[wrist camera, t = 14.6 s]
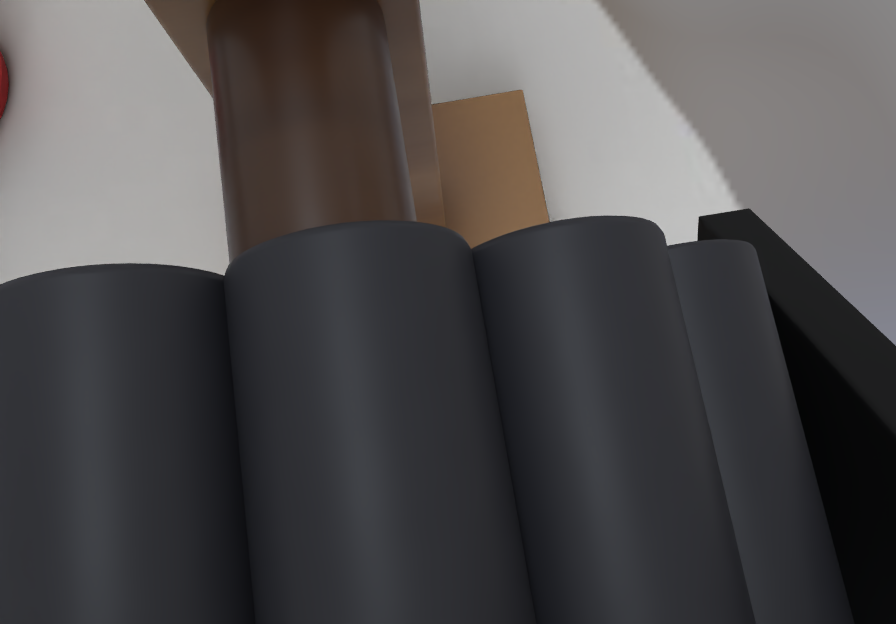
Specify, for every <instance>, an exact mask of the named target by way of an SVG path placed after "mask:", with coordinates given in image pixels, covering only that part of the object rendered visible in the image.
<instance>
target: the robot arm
mask: <svg viewBox="0 0 896 624" xmlns="http://www.w3.org/2000/svg"><path fill="white" fill-rule="evenodd" d="M719 239H727V240H740V241H745V242H748V243H750V244H752V245H753V247H754V248H755V249H756V252H757V256H758V260H759V263H760V267H761V271H762V275H763V279H764V282H765V286H766V290H767V294H768V298H769V301H770V305H771V309H772V313H773V316H774V320H775V324H776V328H777V332H778V335H779V339H780V343H781V347H782V351H783V354H784V358H785V362H786V366H787V370H788V373H789V377H790V381H791V385H792V388H793V392H794V396H795V400H796V404H797V407H798V411H799V415H800V419H801V423H802V426H803V430H804V434H805V438H806V442H807V445H808V449H809V453H810V457H811V460H812V464H813V468H814V472H815V476H816V479H817V483H818V487H819V491H820V495H821V498H822V502H823V506H824V510H825V513H826V517H827V521H828V525H829V529H830V532H831V536H832V540H833V544H834V548H835V551H836V555H837V559H838V563H839V567H840V570H841V574H842V578H843V582H844V585H845V589H846V593H847V597H848V601H849V604H850V608H851V612H852V616H853V620H854V623H855V624H896V346H895V345H894V344H893V343H892V342H891V341H890V340H889V339H888V338H887V337H886V336H885V335H884V334H883V333H881V332H880V331H879V330H878V329H877V328H876V327H875V326H874V325H873V324H872V323H871V322H870V321H869V320H867V319H866V318H865V317H864V316H863V315H862V314H861V313H860V312H859V311H858V310H857V309H856V308H855V307H854V306H853V305H852V304H850V303H849V302H848V301H847V300H846V299H845V298H844V297H843V296H842V295H841V294H840V293H839V292H838V291H837V290H836V289H835V288H833V287H832V286H831V285H830V284H829V283H828V282H827V281H826V280H825V279H824V278H823V277H822V276H821V275H820V274H818V273H817V272H816V271H815V270H814V269H813V268H812V267H811V266H810V265H809V264H808V263H807V262H806V261H805V260H804V259H803V258H801V257H800V256H799V255H798V254H797V253H796V252H795V251H794V250H793V249H792V248H791V247H790V246H788V244H786V243H785V242H784V241H783V240H782V239H781V238H780V237H779V236H778V235H777V234H776V233H775V232H774V231H772V229H771V228H770V227H768V226H767V225H766V224H765V223H764V222H763V221H762V220H761V219H760V218H759V217H758V216H757V215H756V214H755V213H753V212H752V211H751V210H750V209H743V210H737V211H731V212H725V213H718V214H712V215H706V216H700V217H699V223H698V241H703V240H719Z"/></svg>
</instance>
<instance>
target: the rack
mask: <svg viewBox="0 0 896 624" xmlns="http://www.w3.org/2000/svg"><path fill="white" fill-rule="evenodd" d="M144 1H145V2H146V4H147V5H148V6H149V8H150V9H151V11H152V12H153V14H154V15H155V16H156V18H157V19H158V21H159V22H160V24H161V25H162V26H163V28H164V29H165V31H166V32H167V34H168V35H169V36H170V38H171V39H172V41H173V42H174V44H175V45H176V46H177V48H178V49H179V51H180V52H181V53H182V55H183V56H184V58H185V59H186V61H187V62H188V63H189V65H190V66H191V68H192V69H193V71H194V72H195V73H196V75H197V76H198V78H199V79H200V81H201V82H202V83H203V85H204V86H205V88H206V89H207V91H208V92H209V93H210V95H211V96H212V98H213V101H214V111H215V121H216V131H217V141H218V151H219V161H220V171H221V181H222V191H223V201H224V211H225V221H226V231H227V241H228V251H229V261H230V263H231V262H232V261H233V259H235V258H236V257H237V256H238V255H240V254H241V253H243V252H244V251H246V250H248V249H250V248H252V247H254V246H256V245H258V244H260V243H263V242H265V241H268V240H271V239H273V238H276V237H279V236H283V235H286V234H290V233H293V232H297V231H301V230H305V229H309V228H314V227H320V226H325V225H331V224H338V223H346V222H357V221H374V220H397V221H414V222H422V223H429V224H434V225H438V226H442V227H445V228H448V229H451V230H453V231H455V232H457V233H459V234H460V235H461V236H463V237H464V239H465V240H466V242H467V243H468V245H469V246H470V248H471V249H472V248H474V247H476V246H478V245H480V244H482V243H484V242H486V241H489V240H491V239H493V238H496V237H499V236H502V235H504V234H507V233H510V232H513V231H517V230H520V229H524V228H527V227H531V226H535V225H539V224H544V223H548V222H549V217H548V212H547V207H546V202H545V197H544V192H543V187H542V183H541V178H540V173H539V168H538V163H537V158H536V153H535V148H534V143H533V139H532V134H531V129H530V124H529V119H528V114H527V109H526V104H525V99H524V94H523V90H516V91H510V92H504V93H498V94H492V95H486V96H480V97H474V98H468V99H462V100H456V101H450V102H444V103H438V104H431V96H430V87H429V79H428V70H427V62H426V53H425V45H424V37H423V28H422V20H421V11H420V3H419V0H144Z"/></svg>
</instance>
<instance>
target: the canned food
mask: <svg viewBox="0 0 896 624" xmlns="http://www.w3.org/2000/svg"><path fill="white" fill-rule="evenodd" d="M8 86H9V82H8V72H7V67H6V64H5V61H4V58H3V55H2V54H1V52H0V119H1V117H2V115H3V111H4V108H5V105H6V102H7V96H8Z"/></svg>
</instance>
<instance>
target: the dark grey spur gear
mask: <svg viewBox="0 0 896 624" xmlns="http://www.w3.org/2000/svg"><path fill="white" fill-rule="evenodd" d="M0 624H855V623H854V620H853V616H852V612H851V608H850V604H849V601H848V597H847V593H846V589H845V585H844V582H843V578H842V574H841V570H840V567H839V563H838V559H837V555H836V551H835V548H834V544H833V540H832V536H831V532H830V529H829V525H828V521H827V517H826V513H825V510H824V506H823V502H822V498H821V495H820V491H819V487H818V483H817V479H816V476H815V472H814V468H813V464H812V460H811V457H810V453H809V449H808V445H807V442H806V438H805V434H804V430H803V426H802V423H801V419H800V415H799V411H798V407H797V404H796V400H795V396H794V392H793V388H792V385H791V381H790V377H789V373H788V370H787V366H786V362H785V358H784V354H783V351H782V347H781V343H780V339H779V335H778V332H777V328H776V324H775V320H774V316H773V313H772V309H771V305H770V301H769V298H768V294H767V290H766V286H765V282H764V279H763V275H762V271H761V267H760V263H759V260H758V256H757V252H756V249H755V248H754V247H753V245H752V244H750V243H748V242H745V241H740V240H727V239H719V240H703V241H694V242H687V243H681V244H675V245H669V246H667V244H666V240H665V236H664V233H663V232H662V230H661V229H660V228H659V227H658V226H657V224H655V223H654V222H652V221H650V220H646V219H643V218H638V217H630V216H590V217H580V218H572V219H565V220H559V221H554V222H548V223H544V224H539V225H535V226H531V227H527V228H524V229H520V230H517V231H513V232H510V233H507V234H504V235H502V236H499V237H496V238H493V239H491V240H489V241H486V242H484V243H482V244H480V245H478V246H476V247H474V248H472V249H471V248H470V246H469V245H468V243H467V242H466V240H465V239H464V237H463V236H461V235H460V234H459V233H457V232H455V231H453V230H451V229H448V228H445V227H442V226H438V225H434V224H429V223H422V222H414V221H397V220H374V221H357V222H346V223H338V224H331V225H325V226H320V227H314V228H309V229H305V230H301V231H297V232H293V233H290V234H286V235H283V236H279V237H276V238H273V239H271V240H268V241H265V242H263V243H260V244H258V245H256V246H254V247H252V248H250V249H248V250H246V251H244V252H243V253H241V254H240V255H238V256H237V257H236V258H235V259H233V261H232V262H231V263H230V264H229V266H228V268H227V270H226V273H225V276H223V275H220V274H216V273H213V272H209V271H204V270H199V269H193V268H187V267H181V266H172V265H161V264H136V263H126V264H100V265H87V266H77V267H70V268H63V269H57V270H51V271H46V272H41V273H37V274H32V275H28V276H24V277H20V278H17V279H14V280H11V281H8V282H5V283H3V284H1V285H0Z"/></svg>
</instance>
